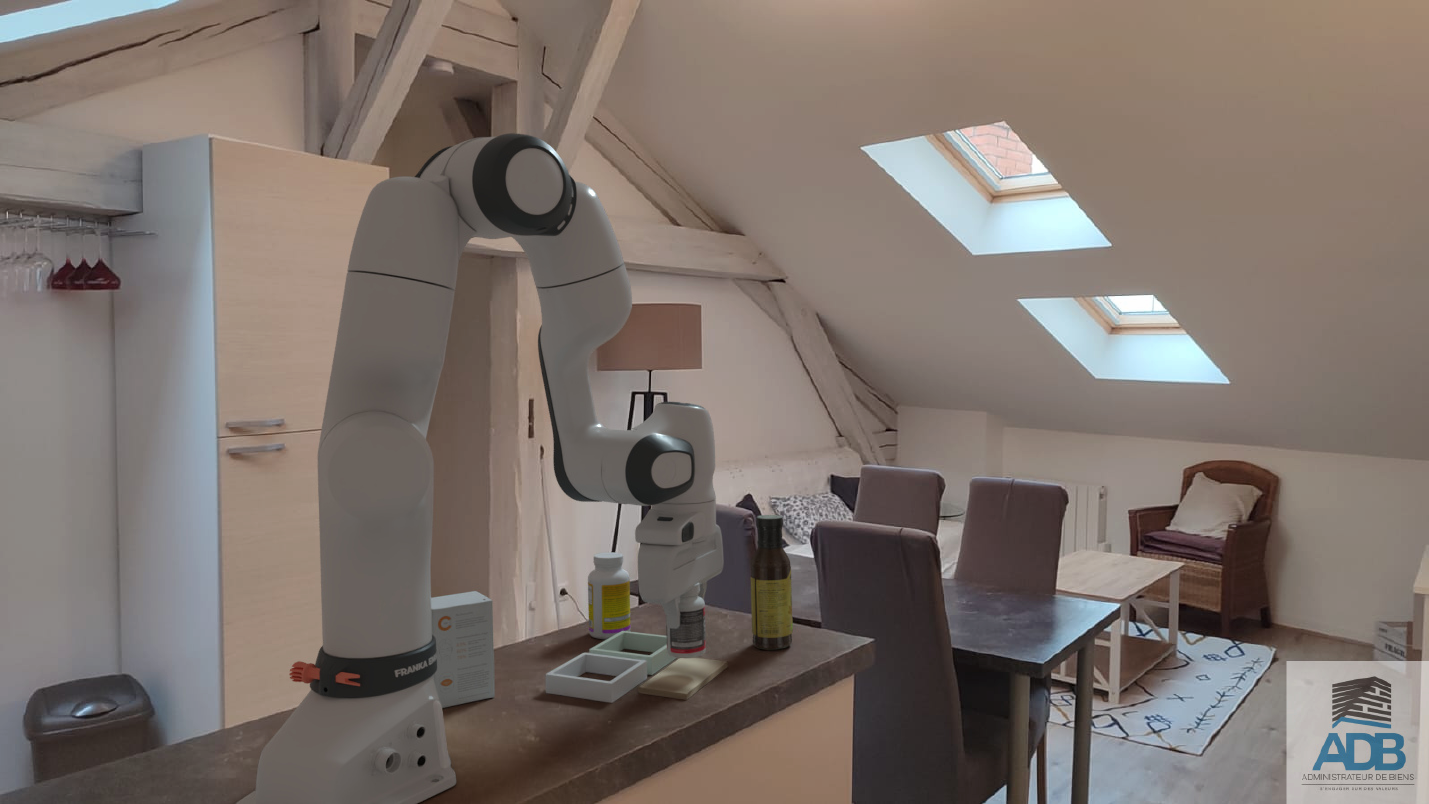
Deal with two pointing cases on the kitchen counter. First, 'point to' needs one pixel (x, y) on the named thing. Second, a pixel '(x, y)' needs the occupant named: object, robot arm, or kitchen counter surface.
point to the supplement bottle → (608, 596)
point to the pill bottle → (689, 627)
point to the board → (683, 678)
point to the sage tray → (637, 648)
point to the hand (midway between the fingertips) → (685, 620)
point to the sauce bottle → (771, 587)
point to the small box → (463, 647)
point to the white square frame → (607, 691)
